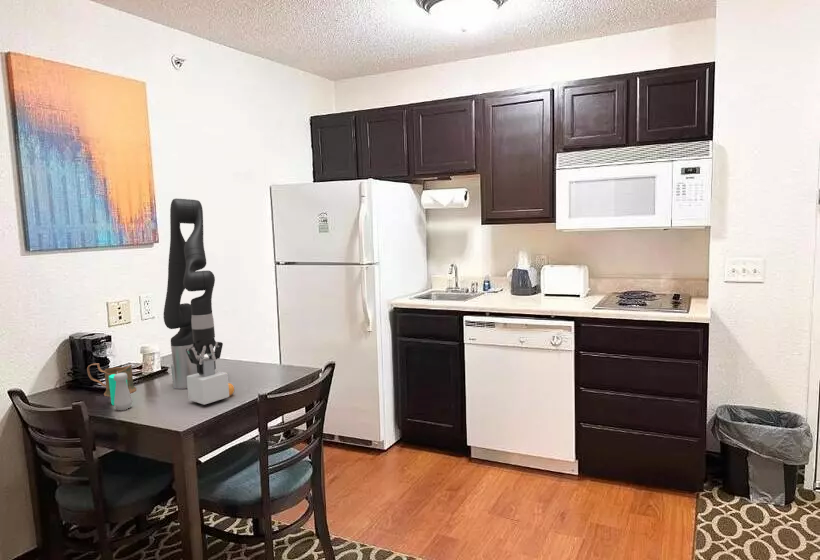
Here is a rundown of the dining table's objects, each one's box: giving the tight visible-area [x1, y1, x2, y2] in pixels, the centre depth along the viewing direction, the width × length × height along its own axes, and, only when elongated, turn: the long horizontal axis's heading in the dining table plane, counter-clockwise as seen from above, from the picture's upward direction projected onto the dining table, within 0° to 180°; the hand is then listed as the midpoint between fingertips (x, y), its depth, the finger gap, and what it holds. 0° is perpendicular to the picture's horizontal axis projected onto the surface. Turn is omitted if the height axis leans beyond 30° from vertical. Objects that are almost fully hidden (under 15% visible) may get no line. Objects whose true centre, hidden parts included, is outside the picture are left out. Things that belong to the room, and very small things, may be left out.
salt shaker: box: [113, 373, 133, 411], centre depth 203 cm, size 6×6×13 cm
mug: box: [86, 362, 137, 398], centre depth 224 cm, size 12×18×12 cm, turn 91°
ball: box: [228, 382, 235, 397], centre depth 213 cm, size 5×5×5 cm
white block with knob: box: [187, 357, 230, 405], centre depth 206 cm, size 10×10×14 cm
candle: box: [109, 373, 128, 406], centre depth 210 cm, size 6×6×12 cm
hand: (206, 372), depth 206 cm, fingers closed on white block with knob, 4 cm apart
